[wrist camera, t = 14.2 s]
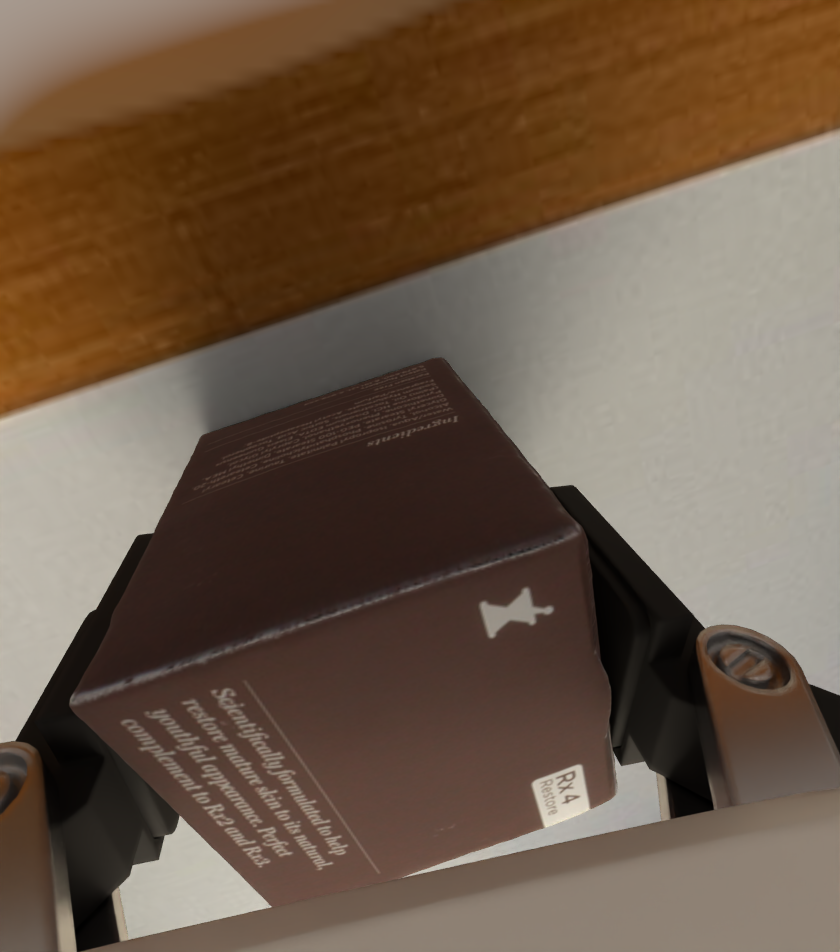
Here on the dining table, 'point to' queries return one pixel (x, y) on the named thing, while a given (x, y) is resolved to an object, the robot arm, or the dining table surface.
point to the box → (359, 642)
